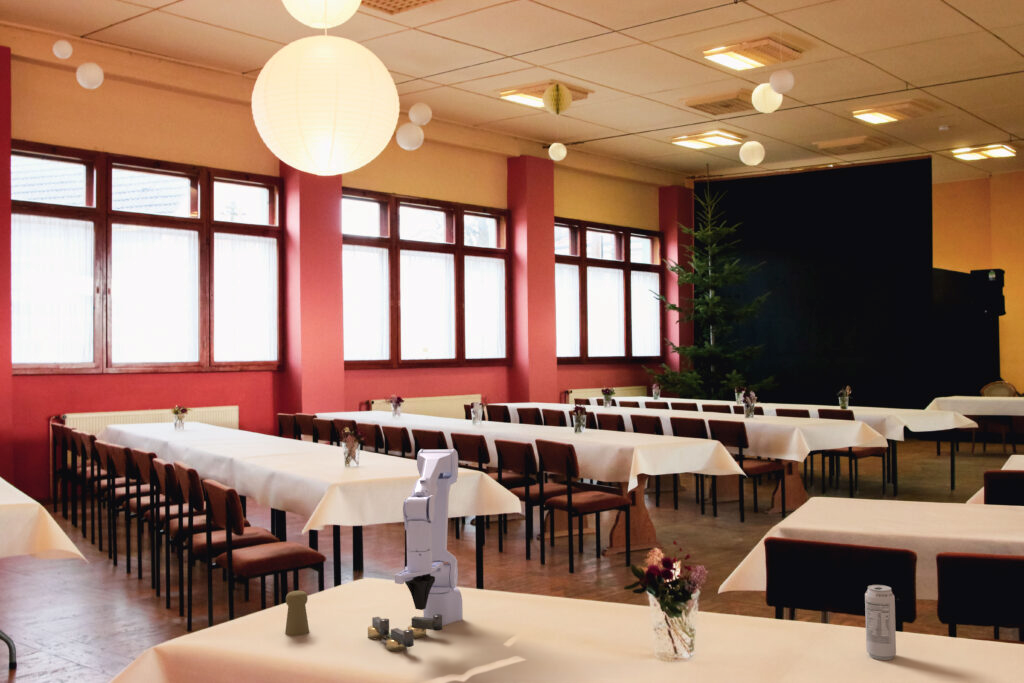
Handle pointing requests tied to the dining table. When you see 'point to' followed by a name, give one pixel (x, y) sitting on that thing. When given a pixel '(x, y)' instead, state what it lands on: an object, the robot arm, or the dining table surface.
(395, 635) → the knob
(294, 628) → the cork
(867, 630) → the energy drink can
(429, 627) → the knob
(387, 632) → the knob
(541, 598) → the dining table surface
